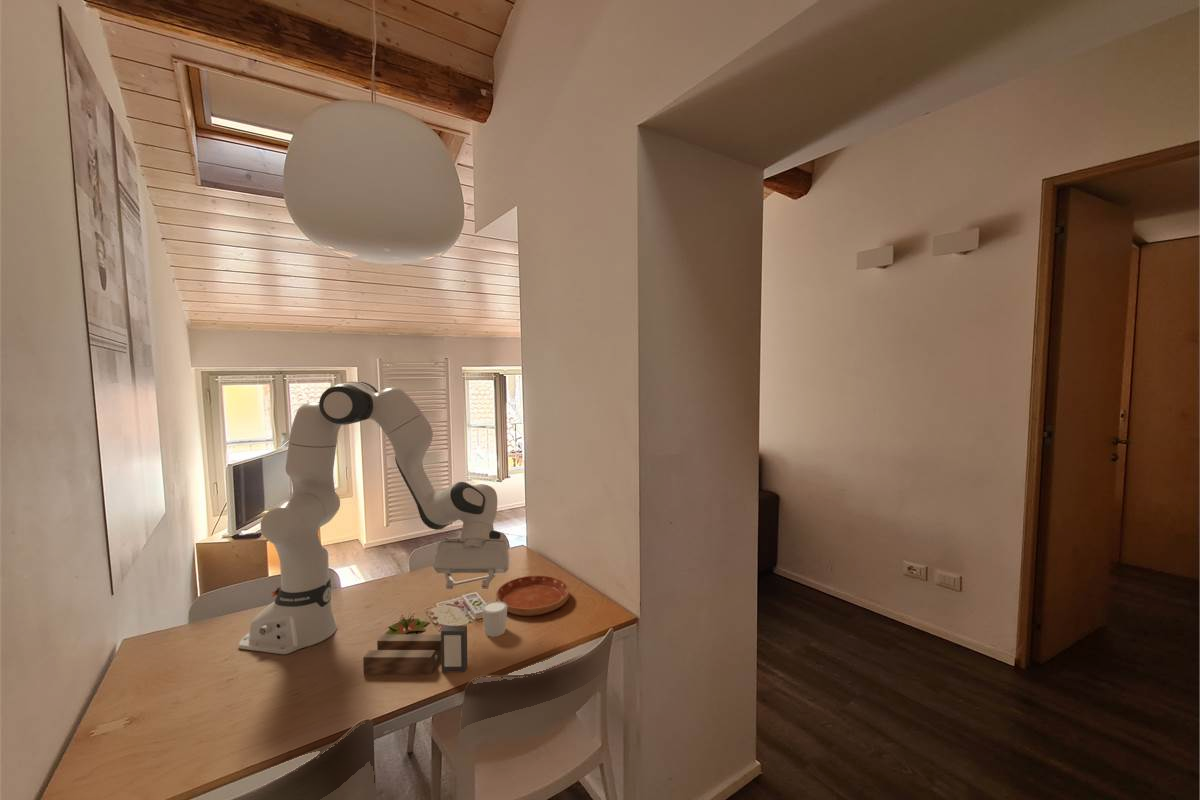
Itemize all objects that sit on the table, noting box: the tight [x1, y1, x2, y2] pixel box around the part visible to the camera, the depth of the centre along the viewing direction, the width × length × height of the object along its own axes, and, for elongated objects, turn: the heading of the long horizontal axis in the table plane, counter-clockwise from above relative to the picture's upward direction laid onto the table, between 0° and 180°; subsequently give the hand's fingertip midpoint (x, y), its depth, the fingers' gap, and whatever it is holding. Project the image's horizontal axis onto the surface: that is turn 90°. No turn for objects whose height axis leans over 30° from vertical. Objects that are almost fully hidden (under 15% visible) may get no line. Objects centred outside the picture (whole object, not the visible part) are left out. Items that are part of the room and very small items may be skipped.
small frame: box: [440, 625, 468, 673], centre depth 114 cm, size 6×3×10 cm, turn 90°
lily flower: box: [384, 612, 430, 635], centre depth 132 cm, size 12×12×5 cm
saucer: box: [495, 575, 570, 617], centre depth 149 cm, size 23×23×4 cm
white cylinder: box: [481, 600, 508, 638], centre depth 131 cm, size 7×7×7 cm
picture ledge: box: [362, 633, 441, 675], centre depth 117 cm, size 16×10×4 cm, turn 90°
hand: (467, 588), depth 124 cm, fingers open, 8 cm apart
